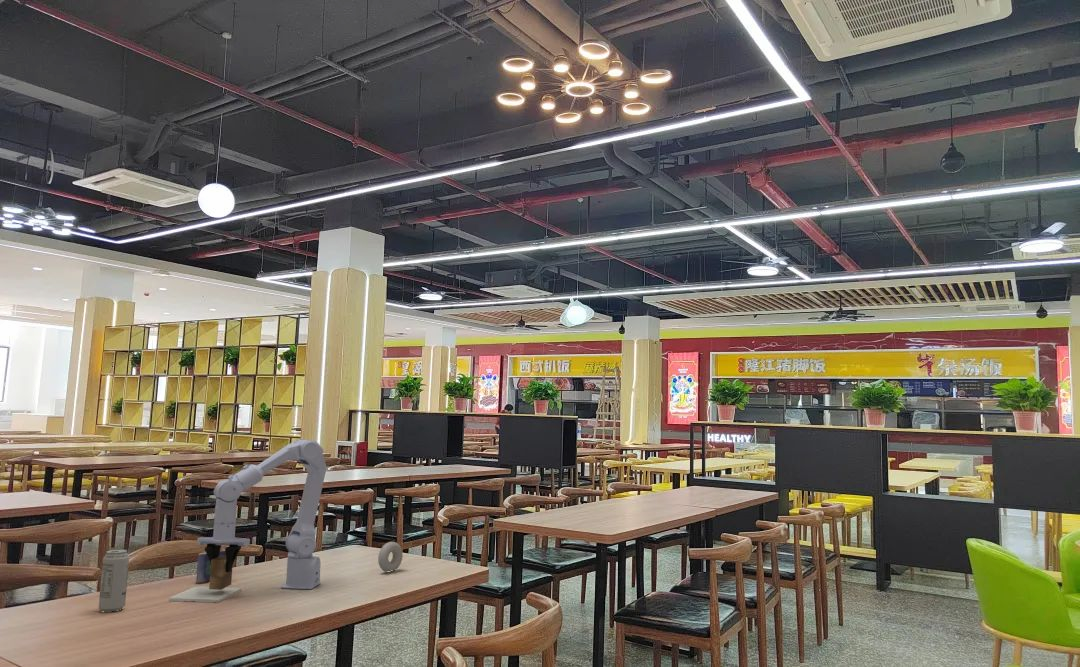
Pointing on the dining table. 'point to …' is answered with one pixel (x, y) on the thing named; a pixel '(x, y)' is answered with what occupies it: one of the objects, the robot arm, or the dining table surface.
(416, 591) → the dining table surface
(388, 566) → the donut
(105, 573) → the energy drink can
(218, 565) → the walnut block
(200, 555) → the flask
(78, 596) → the dining table surface
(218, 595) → the stone board
